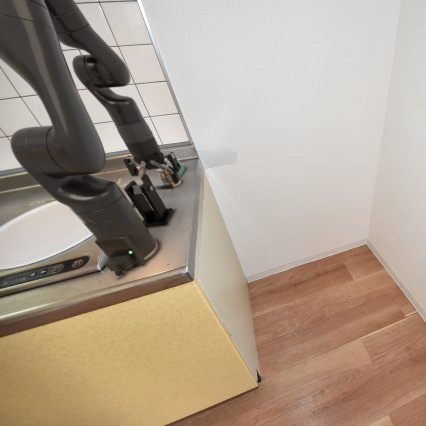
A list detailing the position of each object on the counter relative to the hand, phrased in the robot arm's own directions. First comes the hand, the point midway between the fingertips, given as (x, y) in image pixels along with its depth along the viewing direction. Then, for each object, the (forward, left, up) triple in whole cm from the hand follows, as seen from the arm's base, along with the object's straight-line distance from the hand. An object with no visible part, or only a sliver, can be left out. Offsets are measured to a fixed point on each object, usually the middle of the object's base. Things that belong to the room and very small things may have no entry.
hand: (163, 184), depth 79 cm
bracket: (-12, 0, -6) cm, 13 cm away
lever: (-7, 0, +1) cm, 7 cm away
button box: (+18, +4, -6) cm, 20 cm away
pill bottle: (+9, +2, -6) cm, 11 cm away
